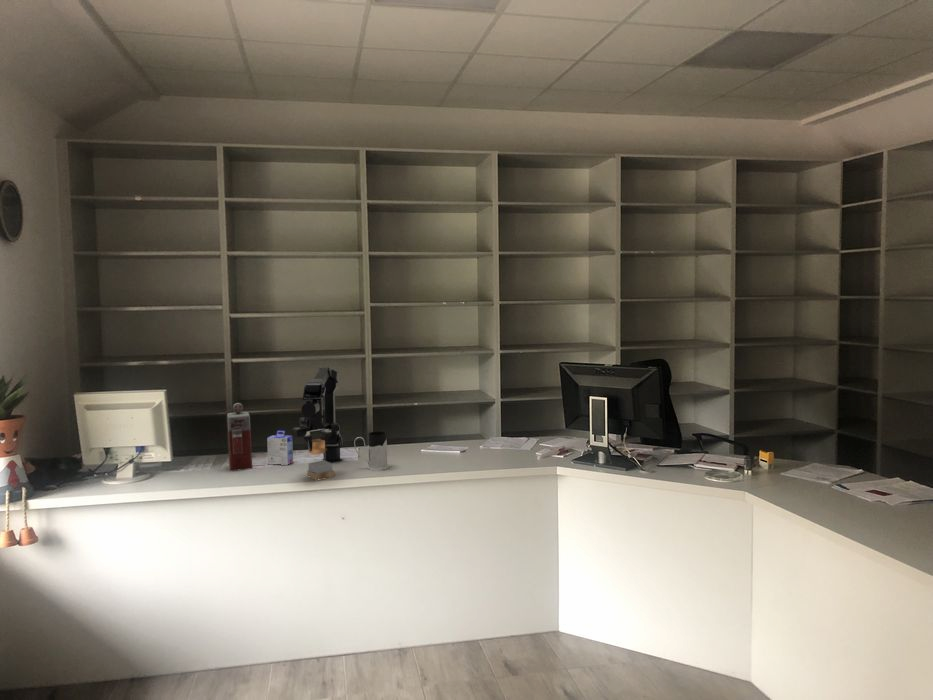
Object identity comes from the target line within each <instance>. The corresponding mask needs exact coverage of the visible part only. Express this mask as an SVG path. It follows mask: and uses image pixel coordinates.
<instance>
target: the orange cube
mask: <svg viewBox="0 0 933 700" xmlns="http://www.w3.org/2000/svg"><path fill="white" fill-rule="evenodd" d="M307 448H308V447H307ZM308 453H309V454H311V455H313V456H314V455H315V456H316V455H321V454H322V455H323V453H325V441H324V440H321V439H320V438H317V439H312V451H310V450H309V448H308Z"/></svg>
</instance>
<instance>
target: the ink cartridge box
mask: <svg viewBox="0 0 933 700" xmlns="http://www.w3.org/2000/svg"><path fill="white" fill-rule="evenodd" d="M285 433H286V430H277V431H276V434H275V435H270V436H268V437H266V438H267V439H266V442H267V443H266V444H267V464H268V465H273V464H281V465H280V466H289V465H291V464H293V463H294V451H293V450H294V449H293V448H294V446H293V441H294V440H293V435H285ZM292 462H293V463H292ZM290 463H291V464H290ZM288 464H289V465H288Z"/></svg>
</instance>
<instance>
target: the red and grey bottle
mask: <svg viewBox="0 0 933 700" xmlns="http://www.w3.org/2000/svg"><path fill="white" fill-rule="evenodd" d="M232 411H233V412H228V413H227V414H226V422H227V425H226V426H227V441H228V442H227V443H228V444H227V446H228V463H229V465H228V466H229V469H230V471H231V470H232V471H238V469H241V470H246V469H245V468H250V469H253V458H252V457H253V456H252V455H253V453H252V429H251V416H250V413H249V412H248V411H244V405H243V404H242V403H241V402H236V403H234V404H233V406H232Z"/></svg>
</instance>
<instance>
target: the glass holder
mask: <svg viewBox="0 0 933 700" xmlns="http://www.w3.org/2000/svg"><path fill="white" fill-rule="evenodd" d="M367 435H368V445H366V441H365V439H364V437H362V436H358V437H356V438H355V439H354V442H353V444H354V449H355V452H356V453H357V455H358V456H359V457H361V458H362V459H363V460H365V461H366V462H367V464H368V467H367V469H368V468H369V469H372V470H371V471H374V470H378V471H382V470H381V469H385V468H388V469H389V465H388V443H387V442H388V441H387V432H386V431H372V432H371V431H370V432H369V433H367ZM357 439H362V441H363V445H364V447H366V448H368V459H366V458H365V457H364V456H363V455H361V454H360V453H359V452H358V449H357V447H356V441H357ZM369 469H368V470H369ZM385 470H386V469H385Z"/></svg>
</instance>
